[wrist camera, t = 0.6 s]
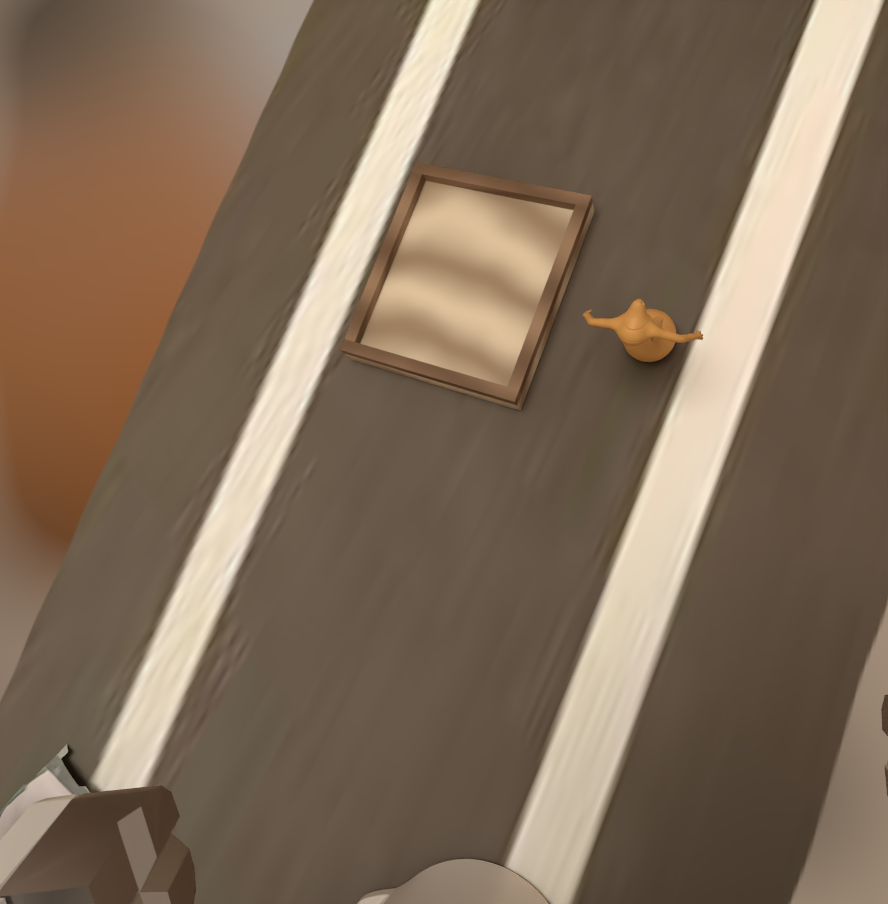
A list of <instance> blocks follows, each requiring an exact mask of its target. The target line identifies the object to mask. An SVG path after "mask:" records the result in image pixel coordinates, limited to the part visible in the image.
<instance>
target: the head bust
mask: <svg viewBox="0 0 888 904" xmlns="http://www.w3.org/2000/svg"><path fill="white" fill-rule="evenodd" d="M67 753H68V748H67V745H66V746H65V747H64V748H63V749H62V750H61V751H60V752H59V753H58V754H57V755H56V756H55V757H54V758H53V759H52V760H51V761H50V762H49V763H48V764H47V765H46V766H45V767H44V768H43V769H42V770H41V771H40V772H39V773H38V774H37V775H36V776H35V778H34V779H33V780H31V781H30V782H28V783H27V784H26V785H25V784H24V785H23V786H22V787H21V788H20V789H19V790H18V791H17V792H16V793H15V794H14V796H13V797H12V798H11V800H10V801H9V802H8V803H7V804H6V805H5V806H4V807H3V809H2V811H1V812H0V840H1V839H2V838H3V836H4V835H5V834H6V833H7V832H8V831H9V830H10V828H11V827H12V826H13V825H14V824H15V823H16V822H17V820H18V819H19V818H20V817H21V816H22V815H23V813H24V812H25V811H26V810H27V809H28V808H29V807H30V805H31V804H32V803H34V802H37V801H40V800H43V799H45V798H51V797H59V796H66V795H73V794H81V795H82V794H85V793H90V792H89V790H88V789H87V788H86V786H78V785H77V783H76V782H75V780H74V779H73V778H72V776H71V775H70V773H69V772H68V770H67V769H66V767H65V765H64V764H63V762H62V760H61V758H62V757H63V756H64V755H66V754H67Z"/></svg>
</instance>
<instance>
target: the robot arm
mask: <svg viewBox="0 0 888 904" xmlns="http://www.w3.org/2000/svg"><path fill="white" fill-rule="evenodd" d="M882 730H883V731H884V732H885V733H886V735H887V736H888V695H885V697H884V702H883V706H882ZM885 775H886V786H887V795H888V762H887V764H886V765H885ZM179 817H180V815H179V812H178V809H177V807H176V804H175V801H174V798H173V795H172V792H171V791H169V790H168V789H166V788H165V787H163V786H151V787H142V788H132V789H122V790H113V791H103V792H93V793H85V794H82V795H81V794H73V795H66V796H59V797H51V798H45V799H43V800H40V801H37V802H34V803H32V804H31V805H30V807H29V808H28V809H27V810H26V811H25V812H24V813H23V815H22V816H21V817H20V818H19V819H18V820H17V822H16V823H15V824H14V825H13V826H12V827H11V828H10V830H9V831H8V832H7V833H6V834H5V835H4V836H3V838H2V839H1V840H0V904H194V899H195V893H196V881H195V868H194V864H193V860H192V857H191V853H190V849H189V848H188V847H187V846H186V845H184V844H183V843H182V842H181V841H180V840H179V839H178V838H176V837H175V836H174V835H173V834H172V832H173V830H174V828H175V826H176V823H177V821H178V819H179ZM357 904H549V903H548V902H547V901H546V899H545V898H544V897H543V896H542V895H541V894H540V893H539V892H538V891H537V890H536V889H535V888H534V887H533V886H532V885H531V884H529V883H528V882H527V881H526V880H524V879H523V878H522V877H520V876H519V875H517V874H515V873H514V872H512V871H510V870H508V869H506V868H504V867H502V866H499V865H497V864H494V863H490V862H487V861H482V860H475V859H457V860H450V861H445V862H442V863H439V864H436V865H434V866H431V867H429V868H427V869H425V870H424V871H422V872H420V873H419V874H418V875H416V876H415V877H413V878H412V879H411V880H409V881H408V882H406V883H405V884H403V885H401V886H399V887H397V888H392V889H384V890H378V891H374V892H371V893H368V894H366V895H364V896H363V897H362V898H361V899H360V901H359V902H358V903H357Z"/></svg>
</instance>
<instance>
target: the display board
mask: <svg viewBox="0 0 888 904" xmlns="http://www.w3.org/2000/svg"><path fill="white" fill-rule="evenodd" d="M593 215H594V206H593V201H592V196H590V195H585V194H580V193H574V192H569V191H564V190H559V189H554V188H548V187H543V186H538V185H533V184H528V183H522V182H517V181H512V180H507V179H502V178H496V177H491V176H486V175H481V174H476V173H470V172H465V171H460V170H455V169H450V168H444V167H439V166H434V165H429V164H424V163H419V162H416V164H415V166H414V169H413V171H412V174H411V176H410V179H409V181H408V184H407V186H406V189H405V191H404V193H403V196H402V198H401V201H400V203H399V206H398V208H397V211H396V213H395V216H394V218H393V221H392V223H391V225H390V228H389V230H388V233H387V235H386V238H385V240H384V243H383V245H382V248H381V250H380V252H379V255H378V257H377V260H376V262H375V265H374V267H373V270H372V272H371V275H370V277H369V280H368V282H367V284H366V287H365V289H364V292H363V294H362V297H361V299H360V302H359V304H358V307H357V309H356V312H355V314H354V316H353V319H352V321H351V324H350V326H349V329H348V331H347V334H346V336H345V339H344V341H343V344H342V346H341V348H340V350H341V351H342V352H343V353H344V354H345V355H347V356H348V357H349V358H350V359H351V360H354V361H357V362H361V363H364V364H367V365H371V366H374V367H377V368H380V369H384V370H387V371H390V372H394V373H397V374H400V375H404V376H407V377H410V378H414V379H417V380H420V381H424V382H427V383H430V384H433V385H437V386H440V387H443V388H447V389H450V390H453V391H457V392H460V393H463V394H467V395H470V396H473V397H476V398H480V399H483V400H486V401H490V402H493V403H496V404H500V405H503V406H506V407H510V408H513V409H516V410H519V411H521V408H522V406H523V403H524V400H525V398H526V395H527V392H528V390H529V387H530V384H531V382H532V379H533V376H534V373H535V371H536V368H537V365H538V363H539V360H540V357H541V355H542V352H543V349H544V347H545V344H546V341H547V339H548V336H549V333H550V330H551V328H552V325H553V322H554V320H555V317H556V314H557V312H558V309H559V306H560V304H561V301H562V298H563V295H564V293H565V290H566V287H567V285H568V282H569V279H570V277H571V274H572V271H573V269H574V266H575V263H576V261H577V258H578V255H579V252H580V250H581V247H582V244H583V242H584V239H585V236H586V234H587V231H588V228H589V226H590V223H591V220H592V218H593Z"/></svg>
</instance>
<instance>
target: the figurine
mask: <svg viewBox="0 0 888 904" xmlns="http://www.w3.org/2000/svg"><path fill="white" fill-rule="evenodd" d="M591 311H592V309H591V310H589V311H587V312H585V313H584V314H583V317H585V319H586V321H587V322H588V324H589V325H592V326H596V327H602V328H610V329H612V330H614V331H615V332H616V333H617V335H618V337H619V339H620V340H621V341H622V342H623V345H624V347H625V349H626V351H627V352H628V353H629V354H630V355H631V356H632V357H633V358H635V359H637V360H639V361H643V362H654V361H657V360H660V359H662V358H664V357H665V356H666V355H667V354H668V353H669V352H670V351H671V350H672V348H673V347H674V344H675V342H679V343H684V342H688V341H692V340H695V339H700V340H702V339H703V337H702V336H703V334H702V335H701V331H700V332H698V330H697V329H696V334H694V333H691V334H687V335H679V334H676V327H675V325H674V323H673V321H672V319H671V318H670V317H669V316H668V315H667V314H665V313H664V312H662V311H659V310H656V309H646V307H645V304H644V302H643V301H642V300H641V299H637V300H635V301H634V302H633V303H632V304H631V306H630V307H629V309H628V311H627V312H626V313H624V314H622V315H621V316H619V317H617V318H612V319H606V318H595V319H594V318H593V317H592V316H591V315H590V314H589V313H590V312H591Z"/></svg>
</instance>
